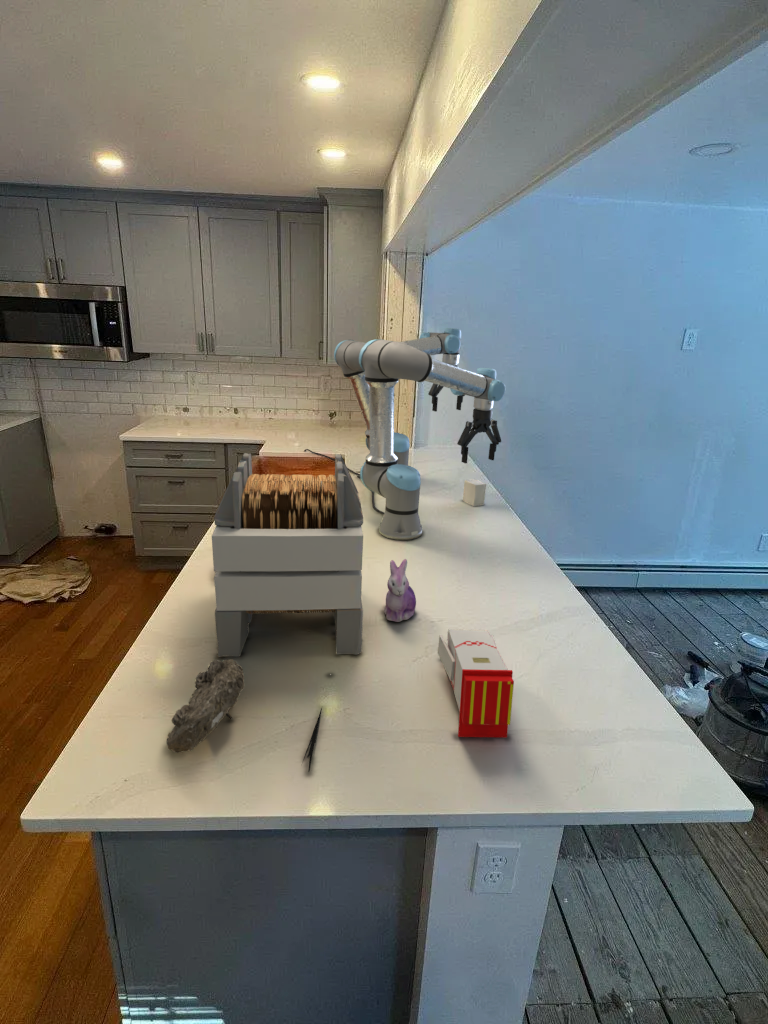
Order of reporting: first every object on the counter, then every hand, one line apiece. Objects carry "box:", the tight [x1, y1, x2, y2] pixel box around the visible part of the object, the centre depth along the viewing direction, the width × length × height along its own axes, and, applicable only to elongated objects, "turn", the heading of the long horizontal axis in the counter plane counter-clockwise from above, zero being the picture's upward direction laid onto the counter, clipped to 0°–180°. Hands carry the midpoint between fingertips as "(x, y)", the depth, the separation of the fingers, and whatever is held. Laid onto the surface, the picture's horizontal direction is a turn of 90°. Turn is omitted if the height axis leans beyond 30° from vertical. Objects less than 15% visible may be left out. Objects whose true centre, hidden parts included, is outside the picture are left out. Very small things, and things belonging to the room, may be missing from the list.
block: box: [462, 478, 487, 507], centre depth 234 cm, size 5×8×9 cm
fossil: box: [166, 658, 245, 754], centre depth 106 cm, size 22×10×15 cm
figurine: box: [384, 558, 417, 623], centre depth 145 cm, size 9×10×15 cm
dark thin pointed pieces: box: [301, 673, 332, 771], centre depth 108 cm, size 2×28×2 cm
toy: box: [437, 628, 515, 738], centre depth 117 cm, size 12×13×30 cm
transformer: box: [211, 452, 364, 658], centre depth 136 cm, size 34×33×41 cm
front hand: (477, 461), depth 230 cm, fingers open, 13 cm apart
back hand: (446, 410), depth 266 cm, fingers open, 13 cm apart
